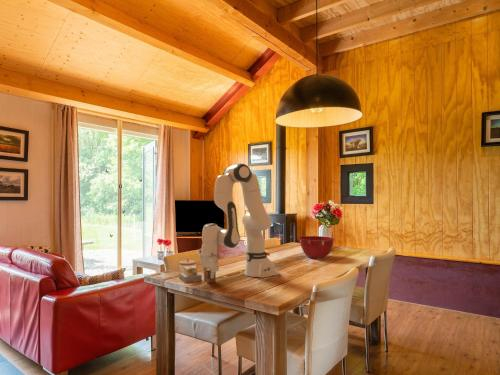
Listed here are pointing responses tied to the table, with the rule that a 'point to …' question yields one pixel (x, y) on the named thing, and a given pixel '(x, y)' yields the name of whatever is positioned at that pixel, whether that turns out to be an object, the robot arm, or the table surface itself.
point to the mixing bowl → (316, 246)
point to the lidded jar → (186, 264)
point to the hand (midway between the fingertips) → (208, 276)
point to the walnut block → (207, 276)
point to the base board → (190, 277)
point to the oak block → (190, 270)
